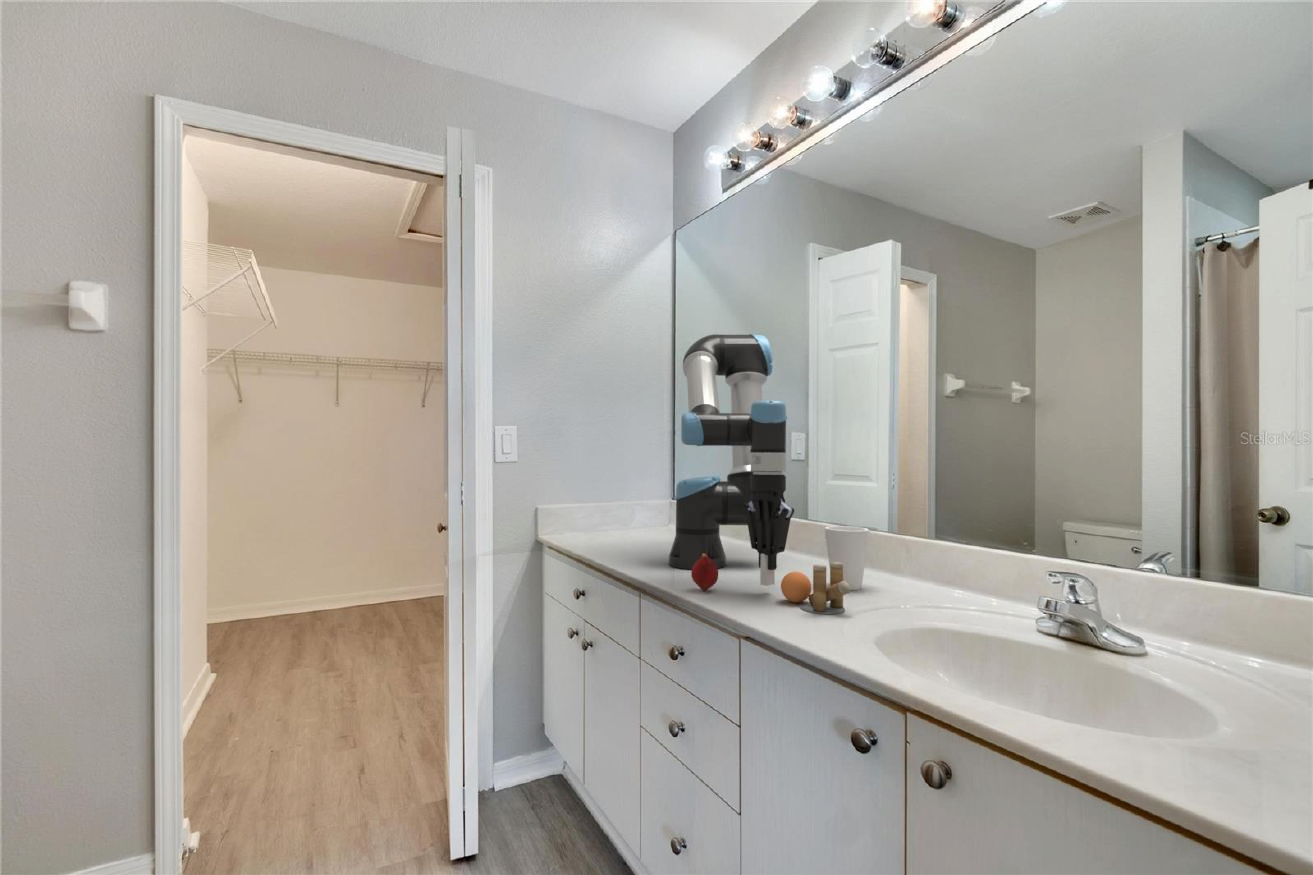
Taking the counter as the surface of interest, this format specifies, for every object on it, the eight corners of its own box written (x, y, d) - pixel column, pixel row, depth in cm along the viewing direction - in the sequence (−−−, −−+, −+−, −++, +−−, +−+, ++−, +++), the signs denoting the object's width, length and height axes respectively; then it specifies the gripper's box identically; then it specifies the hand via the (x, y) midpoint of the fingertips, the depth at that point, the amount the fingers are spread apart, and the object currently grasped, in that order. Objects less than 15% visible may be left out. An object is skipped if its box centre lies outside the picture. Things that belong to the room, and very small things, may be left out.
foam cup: (816, 585, 135) (816, 528, 135) (839, 580, 141) (839, 525, 141) (855, 593, 128) (855, 532, 128) (876, 587, 134) (876, 529, 134)
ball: (816, 585, 116) (808, 611, 118) (813, 569, 122) (805, 594, 124) (785, 579, 117) (778, 604, 119) (783, 563, 122) (777, 588, 124)
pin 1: (813, 609, 114) (813, 564, 114) (826, 610, 114) (826, 565, 114) (813, 613, 112) (813, 566, 112) (826, 613, 111) (826, 567, 112)
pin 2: (829, 606, 117) (829, 561, 117) (842, 606, 117) (842, 562, 117) (830, 609, 115) (830, 564, 115) (843, 610, 114) (843, 564, 114)
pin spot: (800, 601, 120) (800, 600, 120) (843, 604, 118) (843, 603, 118) (799, 612, 112) (799, 611, 112) (846, 615, 110) (846, 614, 110)
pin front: (810, 591, 118) (842, 578, 112) (819, 599, 118) (851, 586, 112) (807, 601, 116) (839, 587, 110) (815, 609, 116) (848, 596, 110)
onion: (718, 588, 132) (718, 551, 132) (718, 594, 126) (718, 556, 126) (691, 587, 132) (692, 551, 133) (690, 593, 127) (691, 555, 127)
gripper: (733, 472, 131) (733, 581, 130) (778, 474, 120) (778, 592, 120) (758, 472, 135) (758, 577, 135) (803, 474, 125) (803, 588, 124)
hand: (767, 584), depth 127 cm, fingers closed
